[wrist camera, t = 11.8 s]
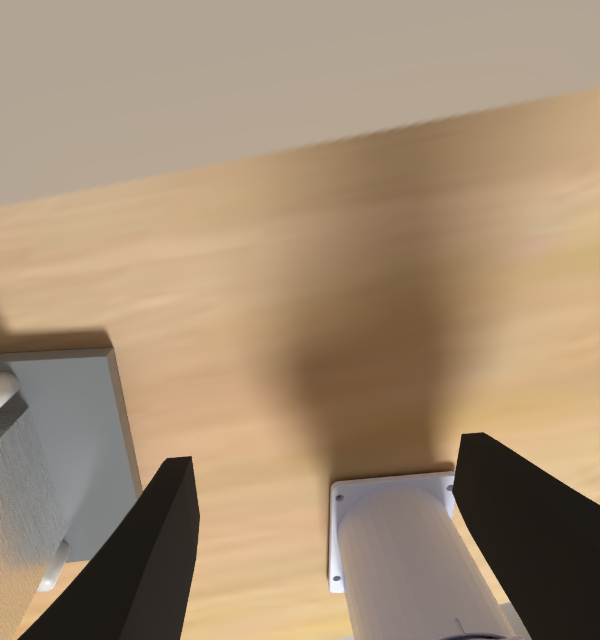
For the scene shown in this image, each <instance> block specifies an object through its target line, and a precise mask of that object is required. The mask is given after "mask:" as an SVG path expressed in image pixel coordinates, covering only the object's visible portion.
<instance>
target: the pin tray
mask: <svg viewBox="0 0 600 640" xmlns="http://www.w3.org/2000/svg"><path fill="white" fill-rule="evenodd" d="M23 407H29V408H30V412H31V415H32V418H33V421H34V424H35V427H36V430H37V434H38V437H39V440H40V443H41V446H42V449H43V452H44V456H45V459H46V462H47V465H48V468H49V471H50V475H51V478H52V481H53V484H54V487H55V490H56V493H57V497H58V500H59V503H60V506H61V509H62V512H63V516H64V519H65V522H66V525H67V528H68V530H67V532H66V534H65V536H64V538H63V540H62V542H61V543H60V545H59V547H58V549H57V551H56V553H55V555H54V557H53V559H52V561H51V563H50V565H49V567H48V569H47V571H46V573H45V575H44V577H43V579H42V581H41V583H40V585H39V587H38V588H37V591H42V592H44V591H49V590H51V589H53V587H54V586H55V584H56V582H57V579H58V577H59V575H60V573H61V571H62V569H63V567H64V565H65V563H67V562H76V561H86V560H91V559H92V558H93V557H94V555H95V554H96V553H97V552H98V551H99V549H100V548H101V547H102V546H103V544H104V543H105V542H106V541H107V540H108V538H109V537H110V536H111V535H112V533H113V532H114V531H115V529H116V528H117V527H118V525H119V524H120V523H121V521H122V520H123V519H124V517H125V516H126V515H127V513H128V512H129V511H130V509H131V508H132V507H133V505H134V504H135V503H136V501H137V500H138V498H139V497H140V496H141V494H142V493H143V492H142V487H141V482H140V477H139V472H138V467H137V462H136V457H135V452H134V447H133V442H132V437H131V433H130V428H129V423H128V418H127V413H126V408H125V403H124V398H123V393H122V388H121V383H120V378H119V373H118V368H117V363H116V358H115V353H114V348H113V347H110V348H92V349H73V350H54V351H35V352H17V353H0V409H9V408H23Z"/></svg>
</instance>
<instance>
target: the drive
mask: <svg viewBox="0 0 600 640" xmlns="http://www.w3.org/2000/svg"><path fill="white" fill-rule="evenodd" d="M67 530H68V528H67V525H66V522H65V519H64V516H63V512H62V509H61V506H60V503H59V500H58V497H57V493H56V490H55V487H54V484H53V481H52V478H51V475H50V471H49V468H48V465H47V462H46V459H45V456H44V452H43V449H42V446H41V443H40V440H39V437H38V434H37V430H36V427H35V424H34V421H33V418H32V415H31V412H30V408H29V407H23V408H9V409H0V640H11V639H12V637H13V635H14V634H15V632H16V630H17V628H18V626H19V624H20V622H21V620H22V618H23V616H24V614H25V612H26V610H27V608H28V606H29V604H30V602H31V600H32V598H33V596H34V594H35V592H36V590H37V588H38V587H39V585H40V583H41V581H42V579H43V577H44V575H45V573H46V571H47V569H48V567H49V565H50V563H51V561H52V559H53V557H54V555H55V553H56V551H57V549H58V547H59V545H60V543H61V542H62V540H63V538H64V536H65V534H66V532H67Z"/></svg>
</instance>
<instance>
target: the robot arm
mask: <svg viewBox="0 0 600 640" xmlns="http://www.w3.org/2000/svg"><path fill="white" fill-rule="evenodd" d="M449 485H450V486H449ZM338 495H341V496H339V497H337V496H338ZM455 501H456V503H457V506H458V508H459V510H460V513H461V515H462V517H463V519H464V521H465V524H466V526H467V528H468V530H469V532H470V534H471V535H472V537H473V539H474V541H475V542H476V544H477V546H478V547H479V549H480V551H481V553H482V554H483V556H484V558H485V559H486V561H487V563H488V564H489V566H490V568H491V570H492V571H493V573H494V575H495V576H496V578H497V580H498V581H499V583H500V585H501V586H502V588H503V590H504V591H505V593H506V595H507V596H508V598H509V600H510V602H511V603H512V605H513V607H514V608H515V610H516V612H517V613H518V615H519V617H520V618H521V620H522V622H523V624H524V626H525V627H526V629H527V631H528V633H529V635H530V637H531V638H532V640H600V505H599V504H597V503H595V502H594V501H592V500H590V499H588V498H587V497H585V496H583V495H582V494H580V493H578V492H577V491H575V490H574V489H572V488H570V487H569V486H567V485H565V484H564V483H562V482H561V481H559V480H558V479H556V478H554V477H553V476H551V475H550V474H548V473H547V472H545V471H543V470H542V469H540V468H539V467H537V466H536V465H534V464H533V463H531V462H530V461H528V460H526V459H525V458H523V457H522V456H520V455H519V454H517V453H516V452H514V451H513V450H511V449H509V448H508V447H506V446H505V445H503V444H502V443H500V442H499V441H497V440H495V439H494V438H492V437H490V436H489V435H487V434H485V433H483V432H482V433H469V434H462V436H461V442H460V448H459V454H458V459H457V465H456V471H455V472H453V471H447V472H436V473H425V474H413V475H402V476H391V477H380V478H369V479H358V480H346V481H338V482H335V483H333V484H332V486H331V496H330V538H329V580H328V585H329V590H330V591H331V592H332V593H342V592H345V596H346V601H347V606H348V611H349V615H350V620H351V625H352V630H353V634H354V639H355V640H525V638H524V637H523V636H522V635H518V636H516V635H515V633H514V632H513V630H512V628H511V626H510V624H509V622H508V621H507V619H506V617H505V615H504V613H503V612H502V610H501V608H500V606H499V604H498V603H497V601H496V599H495V597H494V595H493V594H492V592H491V590H490V588H489V586H488V585H487V583H486V581H485V579H484V577H483V576H482V574H481V572H480V570H479V568H478V567H477V565H476V563H475V561H474V559H473V558H472V556H471V554H470V552H469V551H468V549H467V547H466V545H465V543H464V542H463V540H462V538H461V536H460V534H459V533H458V531H457V529H456V527H455V525H454V524H453V522H452V518H453V512H454V506H455ZM199 522H200V513H199V506H198V499H197V492H196V485H195V477H194V470H193V463H192V456H188V457H176V458H167V459H166V460H165V461H164V462H163V463H162V465H161V466H160V468H159V469H158V471H157V472H156V474H155V475H154V477H153V478H152V480H151V481H150V483H149V484H148V486H147V487H146V488H145V490H144V491H143V493H142V494H141V496H140V497H139V498H138V500H137V501H136V503H135V504H134V505H133V507H132V508H131V509H130V511H129V512H128V513H127V515H126V516H125V517H124V519H123V520H122V521H121V523H120V524H119V525H118V527H117V528H116V529H115V531H114V532H113V533H112V535H111V536H110V537H109V538H108V540H107V541H106V542H105V543H104V544H103V546H102V547H101V548H100V549H99V551H98V552H97V553H96V554H95V555H94V557H93V558H92V559H91V560H90V562H89V563H88V564H87V565H86V566H85V568H84V569H83V570H82V571H81V572H80V573H79V575H78V576H77V577H76V578H75V579H74V580H73V581H72V583H71V584H70V585H69V586H68V587H67V588H66V589H65V590H64V592H63V593H62V594H61V595H60V596H59V597H58V598H57V599H56V600H55V601H54V602H53V603H52V604H51V606H50V607H49V608H48V609H47V610H46V611H45V612H44V613H43V614H42V615H41V616H40V617H39V618H38V619H37V620H36V621H35V622H34V623H33V624H32V625H31V626H30V627H29V628H28V629H27V630H26V631H25V632H24V633H23V634H22V635H21V636H20V637H19V638H18V639H17V640H180V637H181V632H182V627H183V622H184V617H185V612H186V607H187V602H188V597H189V592H190V587H191V582H192V577H193V572H194V567H195V561H196V554H197V544H198V533H199Z"/></svg>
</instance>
